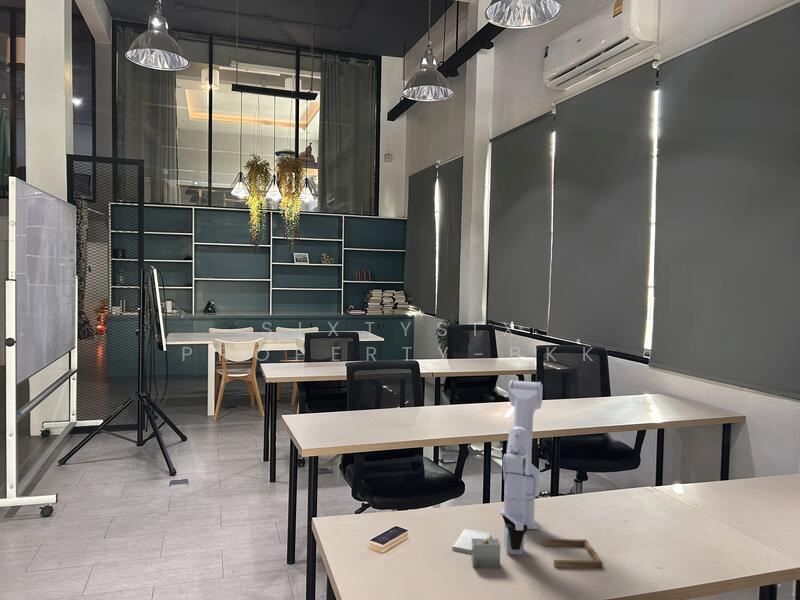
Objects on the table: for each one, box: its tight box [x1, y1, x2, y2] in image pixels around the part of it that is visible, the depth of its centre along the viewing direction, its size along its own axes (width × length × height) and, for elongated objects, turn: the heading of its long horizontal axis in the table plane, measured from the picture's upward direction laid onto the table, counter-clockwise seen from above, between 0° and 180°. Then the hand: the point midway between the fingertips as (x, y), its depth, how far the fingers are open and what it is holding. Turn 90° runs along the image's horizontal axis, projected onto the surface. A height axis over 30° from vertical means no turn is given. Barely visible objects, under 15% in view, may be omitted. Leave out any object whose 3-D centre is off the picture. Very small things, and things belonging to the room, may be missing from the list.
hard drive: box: [451, 528, 492, 555], centre depth 161 cm, size 2×8×12 cm
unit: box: [470, 538, 501, 569], centre depth 149 cm, size 4×7×7 cm, turn 90°
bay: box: [541, 538, 604, 569], centre depth 154 cm, size 13×12×2 cm
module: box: [503, 524, 525, 555], centre depth 157 cm, size 5×4×6 cm
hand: (513, 544), depth 157 cm, fingers closed on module, 5 cm apart
